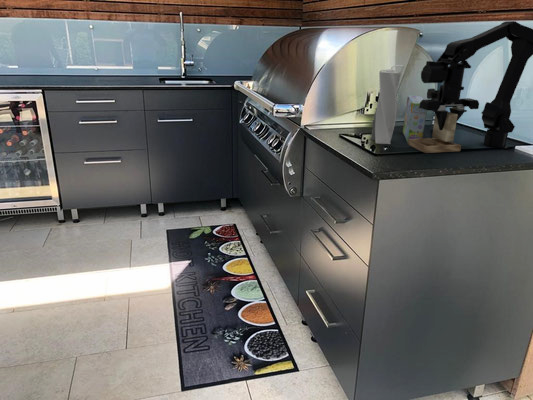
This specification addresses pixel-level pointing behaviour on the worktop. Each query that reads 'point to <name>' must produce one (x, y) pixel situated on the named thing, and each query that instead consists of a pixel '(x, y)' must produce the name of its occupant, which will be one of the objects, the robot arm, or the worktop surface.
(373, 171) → the worktop surface
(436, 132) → the birch panel
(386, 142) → the skyscraper
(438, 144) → the oak rack
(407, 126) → the snack box
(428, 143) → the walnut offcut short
